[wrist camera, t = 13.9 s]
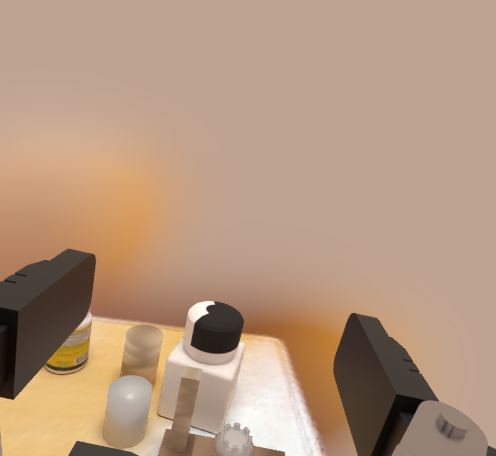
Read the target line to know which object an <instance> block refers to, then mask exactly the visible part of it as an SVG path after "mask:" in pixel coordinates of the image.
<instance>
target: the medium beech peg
mask: <svg viewBox="0 0 496 456" xmlns="http://www.w3.org/2000/svg"><path fill="white" fill-rule="evenodd" d="M162 338H163V334H162V332H161V330H159V329H158V328H156V327H154V326H150V325H137V326H133V327H131V328H130V329H129V330H128V331H127V333H126V340H125V347H124V354H123V361H122V368H121V376H120V377H123V376H128V375H136V376H140V377H143V378H145V379H147V380H148V381H149V382H150V383H151V385H152V388H153V387H154V384H155V379H156V373H157V367H158V361H159V355H160V349H161V344H162Z"/></svg>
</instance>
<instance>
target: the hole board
mask: <svg viewBox="0 0 496 456" xmlns="http://www.w3.org/2000/svg"><path fill="white" fill-rule="evenodd" d="M201 373H202V369H199V368H194V367H189V366H185V368H184V371H183V374H182V378H181V383H180V388H179V393H178V398H177V404H176V409H175V414H174V419H173V424H172V430H170V429H166V431H165V434H164V438H163V441H162V444H161V447H160V451H159V454H158V456H213V455H214V453H215V448H214V438H211V437H205V436H200V435H195V434H190V433H189V431H190V426H191V421H192V416H193V412H194V407H195V402H196V397H197V392H198V388H199V383H200V378H201ZM253 456H285V452H282V451H277V450H272V449H267V448H262V447H257V446H254V454H253Z"/></svg>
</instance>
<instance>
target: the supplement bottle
mask: <svg viewBox="0 0 496 456" xmlns="http://www.w3.org/2000/svg"><path fill="white" fill-rule="evenodd" d="M89 311H90V308H89ZM89 311H88V313H87V315H86V317H85V319H84V320H83V322H82V323H81V324H80V325H79V326H78V327H77V328H76V330H75V331H74V332H73V333H72V334H71V335H70V336H69V337H68V339H67V340H66V341H65V342H64V343H63V344H62V345H61V347H60V348H59V349H58V350H57V351H56V352H55V353H54V354H53V356H52V357H51V358H50V359H49V360H48V361H47V362H46V363H45V367H46V369H47V370H49V371H50V372H53V373H57V374H67V373H72V372H75V371H78V370H80V369H81V368H82V367H84V366H85V364H86V363H87V360H88V351H89V341H90V333H91V325H92V315H91V313H90V312H89Z"/></svg>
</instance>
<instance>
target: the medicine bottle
mask: <svg viewBox="0 0 496 456" xmlns="http://www.w3.org/2000/svg"><path fill="white" fill-rule="evenodd" d="M243 324H244V320H243V317H242V316H241V314H240V312H239V311H237V310H236V309H235V308H233V307H231V306H229V305H227V304H224V303H220V302H214V301H205V302H200V303H197V304H195V305H194V306H193V307H191V308H190V309H189V312H188V316H187V322H186V327H185V332H184V336H183V337H182V339H181V340H180V341H179V343H178V344H177V346H176V347H175V348H174V350H173V351H172V353H171V354H170V355H169V357H168V358H167V362H166V367H165V373H164V379H163V384H162V390H161V396H160V401H159V407H158V414H159V415H161V416H164V417H167V418H170V419H174V414H175V409H176V404H177V398H178V393H179V388H180V383H181V378H182V374H183V371H184V368H185V366H189V367H194V368H199V369H202V373H201V378H200V383H199V388H198V392H197V397H196V402H195V407H194V412H193V416H192V421H191V426H194V427H197V428H200V429H203V430H206V431H209V432H212V433H215V434H218V433H219V432H221V430H222V428H223V425H224V422H225V419H226V416H227V413H228V410H229V407H230V404H231V401H232V398H233V395H234V392H235V388H236V384H237V380H238V375H239V371H240V367H241V363H242V359H243V354H244V350H245V344H244V343H243V342H240V337H241V333H242V328H243Z"/></svg>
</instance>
